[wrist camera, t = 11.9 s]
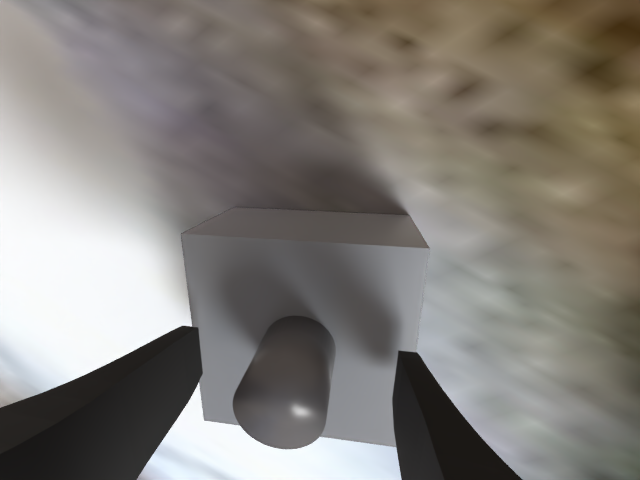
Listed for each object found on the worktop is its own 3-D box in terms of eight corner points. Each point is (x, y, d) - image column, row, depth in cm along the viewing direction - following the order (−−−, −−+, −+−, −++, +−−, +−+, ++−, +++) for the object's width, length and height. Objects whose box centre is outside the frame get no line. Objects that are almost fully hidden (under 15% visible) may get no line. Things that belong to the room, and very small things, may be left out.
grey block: (393, 367, 17) (414, 536, 10) (243, 351, 18) (162, 492, 11) (409, 215, 15) (455, 290, 7) (234, 207, 16) (117, 265, 8)
